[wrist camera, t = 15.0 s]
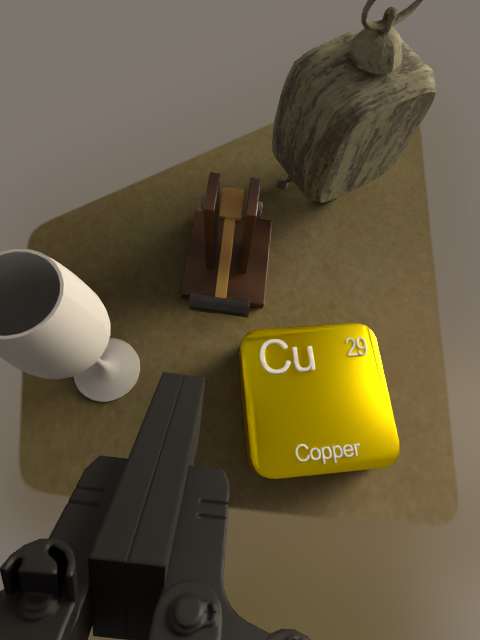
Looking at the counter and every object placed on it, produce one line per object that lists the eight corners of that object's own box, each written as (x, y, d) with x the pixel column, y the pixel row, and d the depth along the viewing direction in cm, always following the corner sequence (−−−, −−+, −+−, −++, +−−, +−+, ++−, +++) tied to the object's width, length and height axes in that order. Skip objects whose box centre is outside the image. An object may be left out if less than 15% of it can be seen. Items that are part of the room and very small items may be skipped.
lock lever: (247, 316, 39) (248, 318, 37) (190, 309, 39) (187, 310, 37) (262, 198, 38) (264, 192, 36) (204, 190, 38) (202, 183, 36)
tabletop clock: (345, 147, 55) (442, -80, 32) (382, 191, 53) (516, -19, 29) (263, 184, 52) (303, -40, 28) (298, 233, 50) (375, 33, 26)
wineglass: (77, 336, 43) (-39, 234, 23) (145, 337, 43) (87, 239, 24) (66, 402, 40) (-75, 352, 20) (138, 404, 41) (67, 355, 21)
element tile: (249, 478, 39) (253, 482, 34) (236, 341, 44) (239, 328, 39) (386, 464, 40) (408, 466, 36) (359, 333, 45) (375, 319, 41)
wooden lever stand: (262, 308, 45) (280, 255, 33) (181, 297, 45) (169, 240, 33) (270, 225, 50) (288, 152, 38) (196, 215, 49) (190, 138, 37)
